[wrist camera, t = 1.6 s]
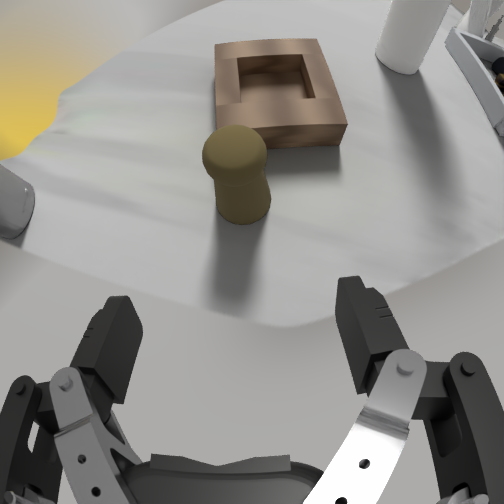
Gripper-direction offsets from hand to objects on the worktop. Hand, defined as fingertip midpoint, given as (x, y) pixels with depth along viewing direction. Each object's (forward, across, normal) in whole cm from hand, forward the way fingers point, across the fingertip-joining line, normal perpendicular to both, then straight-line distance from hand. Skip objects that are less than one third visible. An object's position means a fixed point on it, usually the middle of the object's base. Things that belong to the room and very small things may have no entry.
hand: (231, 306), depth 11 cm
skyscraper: (+51, -56, -24) cm, 79 cm away
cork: (+22, 0, +5) cm, 23 cm away
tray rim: (+38, -55, -11) cm, 67 cm away
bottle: (+39, -27, -12) cm, 49 cm away
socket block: (+32, -5, -5) cm, 32 cm away
